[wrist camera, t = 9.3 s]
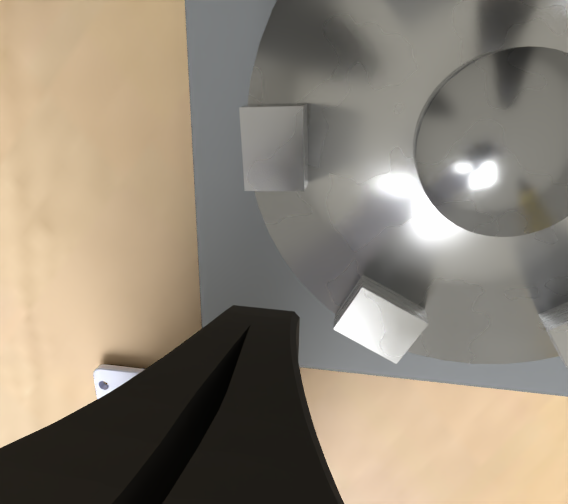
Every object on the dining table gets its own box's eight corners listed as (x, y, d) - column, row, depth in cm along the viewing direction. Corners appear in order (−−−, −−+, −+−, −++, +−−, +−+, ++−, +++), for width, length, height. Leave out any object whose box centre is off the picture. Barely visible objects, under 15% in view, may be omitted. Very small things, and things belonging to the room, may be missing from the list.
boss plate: (689, 387, 19) (717, 415, 18) (213, 338, 22) (202, 359, 21) (965, -272, 12) (1056, -321, 10) (189, -226, 15) (169, -259, 13)
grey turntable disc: (681, 344, 17) (863, 508, 11) (268, 323, 19) (224, 448, 13) (854, -190, 12) (1432, -481, 5) (245, -130, 14) (148, -283, 8)
